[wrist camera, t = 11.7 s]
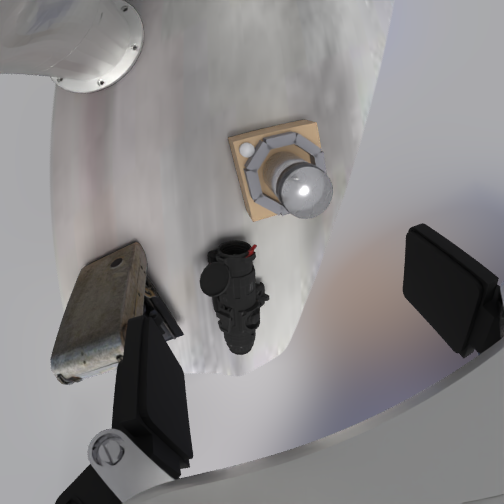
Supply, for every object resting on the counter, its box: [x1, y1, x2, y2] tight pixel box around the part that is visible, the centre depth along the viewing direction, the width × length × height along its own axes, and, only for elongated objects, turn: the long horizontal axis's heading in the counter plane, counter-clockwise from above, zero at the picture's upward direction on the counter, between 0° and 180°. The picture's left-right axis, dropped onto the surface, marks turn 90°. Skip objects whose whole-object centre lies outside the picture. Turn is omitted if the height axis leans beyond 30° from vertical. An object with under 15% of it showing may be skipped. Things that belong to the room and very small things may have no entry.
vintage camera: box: [51, 242, 184, 385], centre depth 35 cm, size 10×16×20 cm, turn 19°
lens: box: [263, 151, 333, 219], centre depth 32 cm, size 5×5×8 cm
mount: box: [228, 120, 327, 222], centre depth 37 cm, size 10×10×6 cm
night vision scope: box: [200, 241, 269, 355], centre depth 43 cm, size 8×18×10 cm
